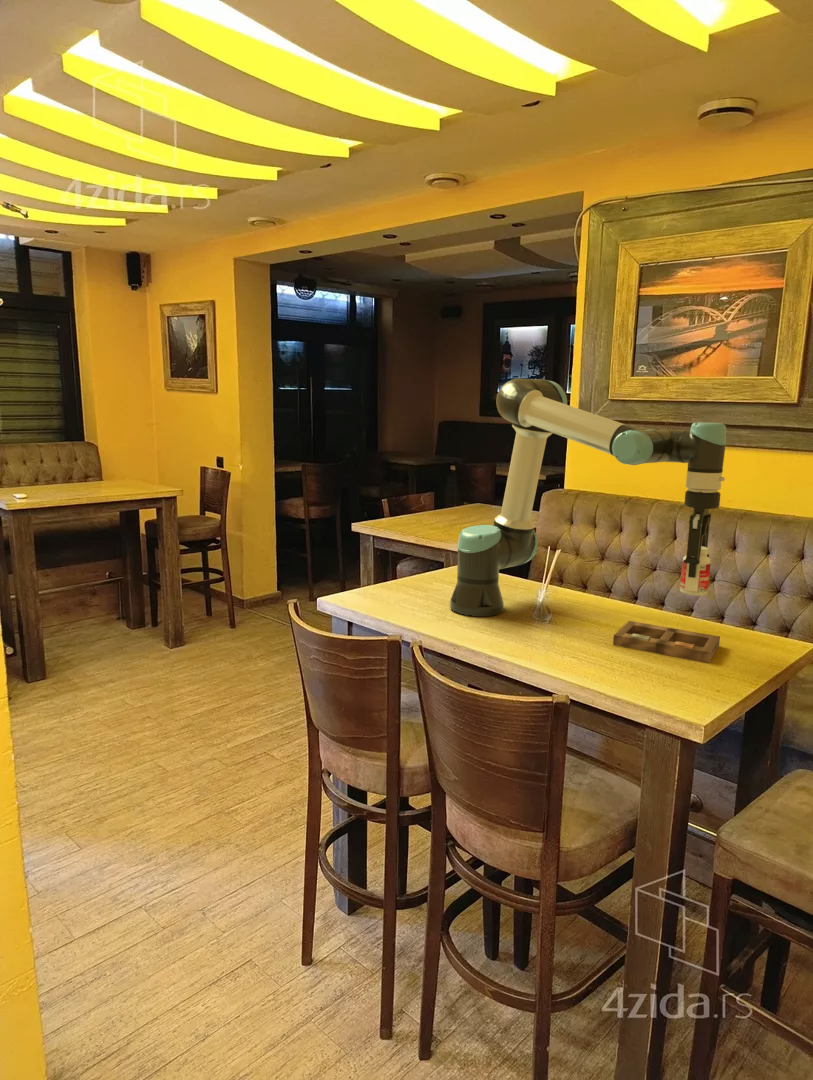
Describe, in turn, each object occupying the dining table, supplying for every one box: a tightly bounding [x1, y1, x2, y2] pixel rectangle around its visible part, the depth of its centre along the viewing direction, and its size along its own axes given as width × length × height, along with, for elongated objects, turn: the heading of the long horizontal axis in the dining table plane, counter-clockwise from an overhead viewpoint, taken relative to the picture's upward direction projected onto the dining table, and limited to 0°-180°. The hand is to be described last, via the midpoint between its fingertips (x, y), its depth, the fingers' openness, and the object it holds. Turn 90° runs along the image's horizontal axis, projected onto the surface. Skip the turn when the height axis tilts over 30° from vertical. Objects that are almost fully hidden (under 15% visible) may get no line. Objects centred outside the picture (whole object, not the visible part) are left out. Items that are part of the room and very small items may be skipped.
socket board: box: [612, 620, 721, 664], centre depth 171 cm, size 22×14×3 cm, turn 58°
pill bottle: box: [679, 546, 712, 597], centre depth 165 cm, size 6×6×11 cm
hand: (693, 587), depth 166 cm, fingers closed on pill bottle, 6 cm apart
